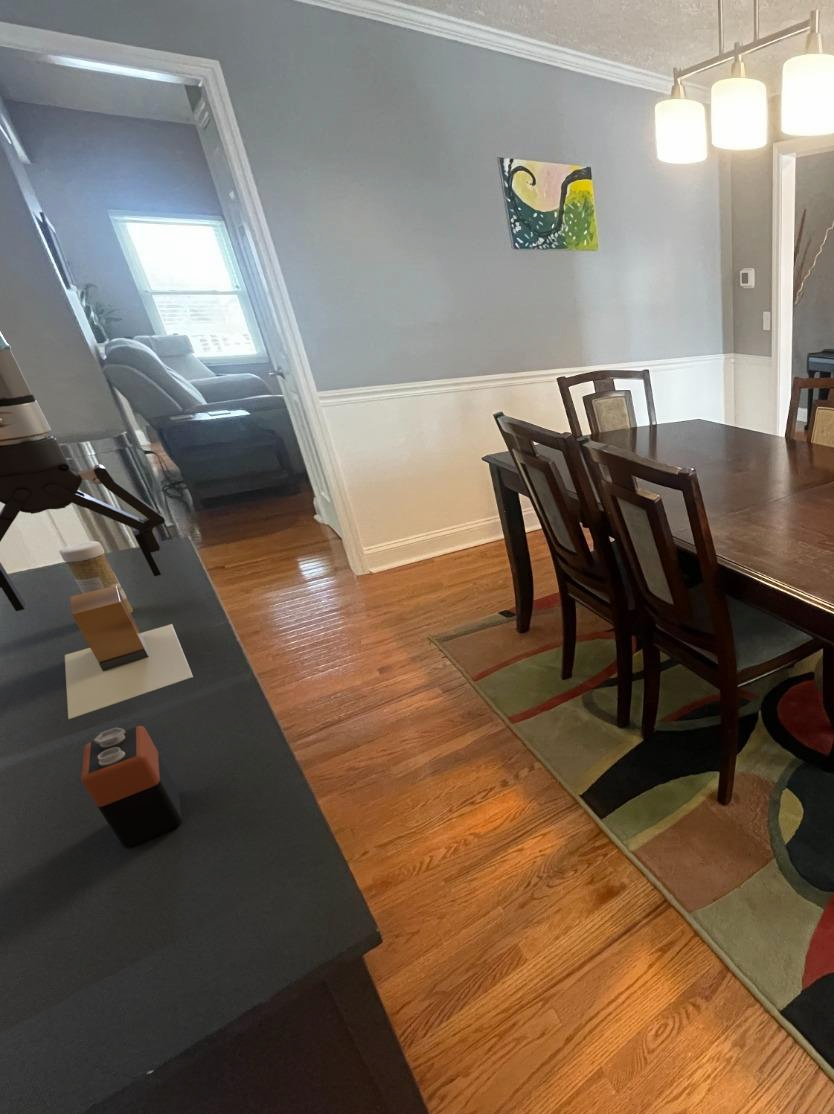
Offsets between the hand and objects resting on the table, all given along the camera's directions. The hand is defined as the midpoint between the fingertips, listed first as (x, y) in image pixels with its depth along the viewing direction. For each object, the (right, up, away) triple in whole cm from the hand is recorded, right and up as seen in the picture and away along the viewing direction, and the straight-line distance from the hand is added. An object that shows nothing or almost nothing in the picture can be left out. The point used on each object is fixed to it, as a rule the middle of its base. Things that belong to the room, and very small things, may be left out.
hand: (92, 589), depth 84 cm
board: (+4, -12, +2) cm, 13 cm away
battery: (+32, -23, -23) cm, 45 cm away
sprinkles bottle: (-13, -6, +16) cm, 21 cm away
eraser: (0, -10, +4) cm, 11 cm away
